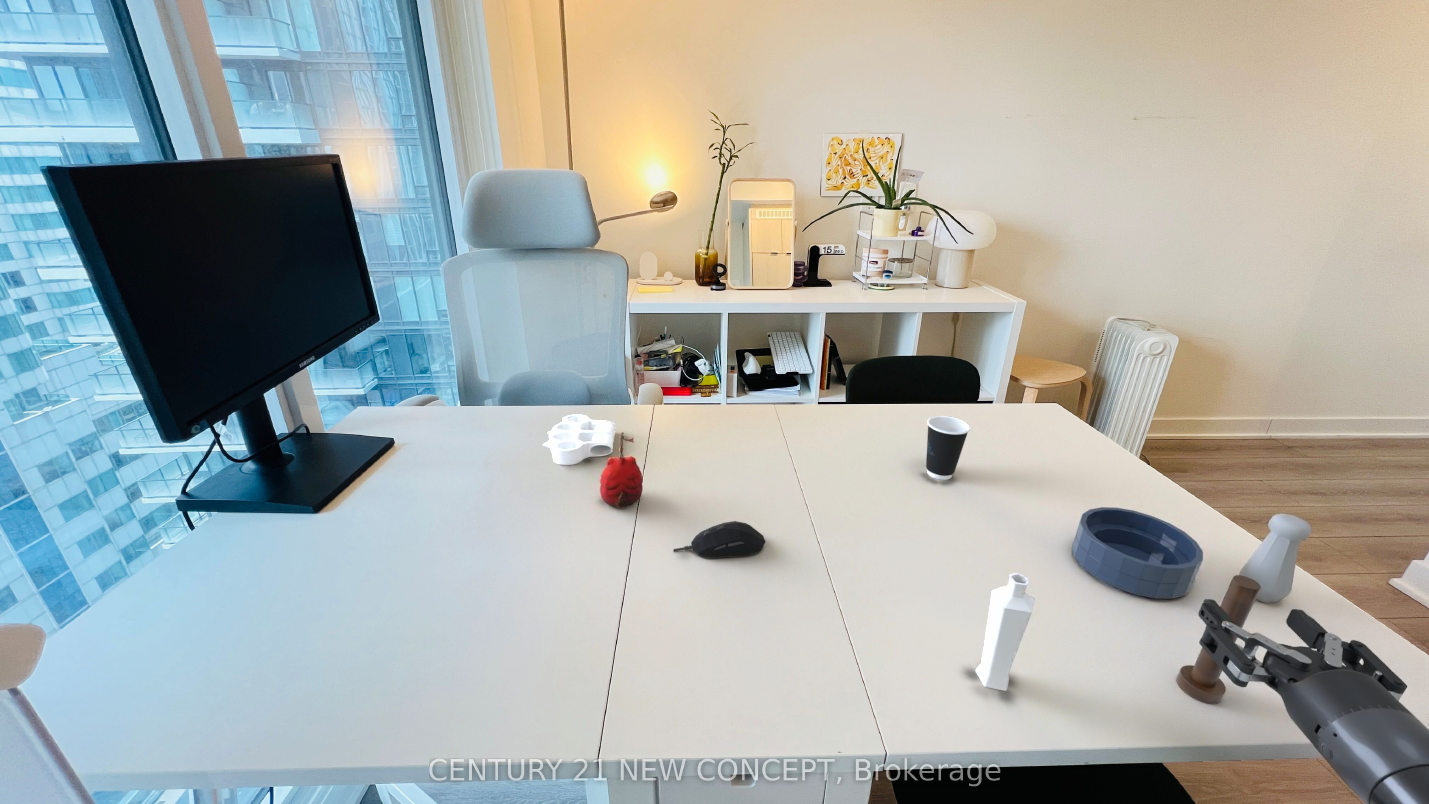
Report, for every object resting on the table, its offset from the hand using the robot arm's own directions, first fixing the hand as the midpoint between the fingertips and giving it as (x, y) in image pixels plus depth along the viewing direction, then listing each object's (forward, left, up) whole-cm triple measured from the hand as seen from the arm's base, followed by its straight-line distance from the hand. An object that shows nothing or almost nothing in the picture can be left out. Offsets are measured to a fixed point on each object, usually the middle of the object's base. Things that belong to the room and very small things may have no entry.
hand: (1248, 610), depth 65 cm
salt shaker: (-6, -28, -14) cm, 32 cm away
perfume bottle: (+21, +13, -14) cm, 28 cm away
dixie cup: (+43, -34, -14) cm, 57 cm away
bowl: (+10, -23, -14) cm, 29 cm away
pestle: (+1, -1, -14) cm, 14 cm away
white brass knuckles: (+108, +3, -14) cm, 109 cm away
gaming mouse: (+63, +13, -14) cm, 65 cm away
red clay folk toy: (+85, +13, -14) cm, 87 cm away
